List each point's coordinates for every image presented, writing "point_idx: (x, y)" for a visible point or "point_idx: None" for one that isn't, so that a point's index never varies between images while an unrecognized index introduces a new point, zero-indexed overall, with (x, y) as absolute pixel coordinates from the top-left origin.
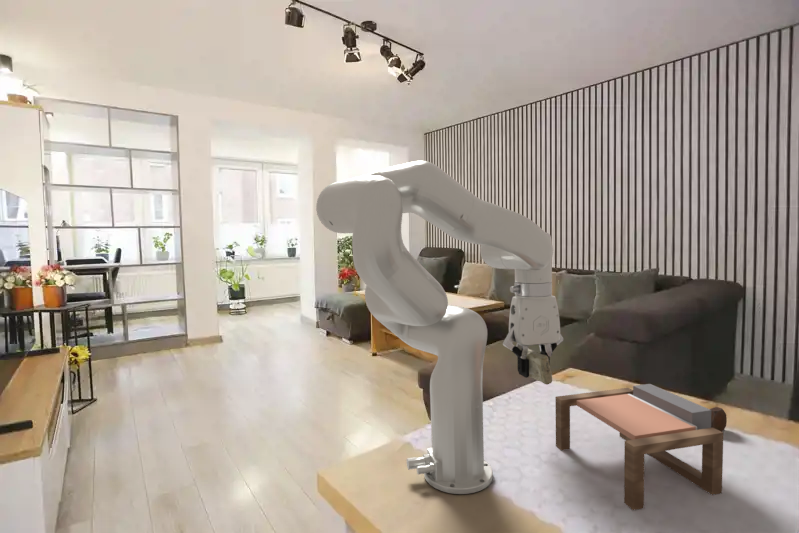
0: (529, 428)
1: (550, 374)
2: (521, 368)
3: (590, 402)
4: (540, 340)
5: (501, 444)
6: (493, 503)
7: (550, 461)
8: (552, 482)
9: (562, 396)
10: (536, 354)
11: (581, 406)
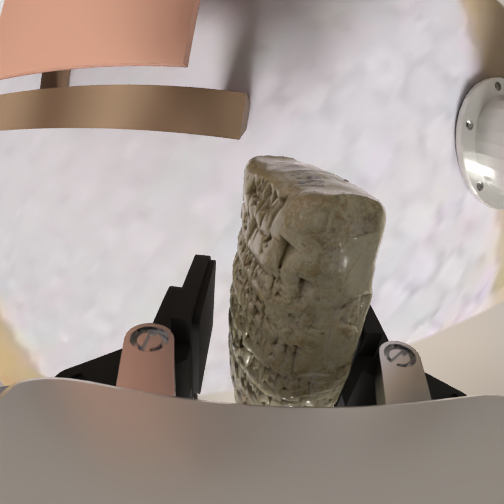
0: None
1: (265, 164)
2: (374, 315)
3: (145, 27)
4: (325, 447)
5: None
6: (492, 42)
7: (315, 74)
8: (370, 13)
9: (206, 128)
10: (340, 326)
11: (191, 32)
